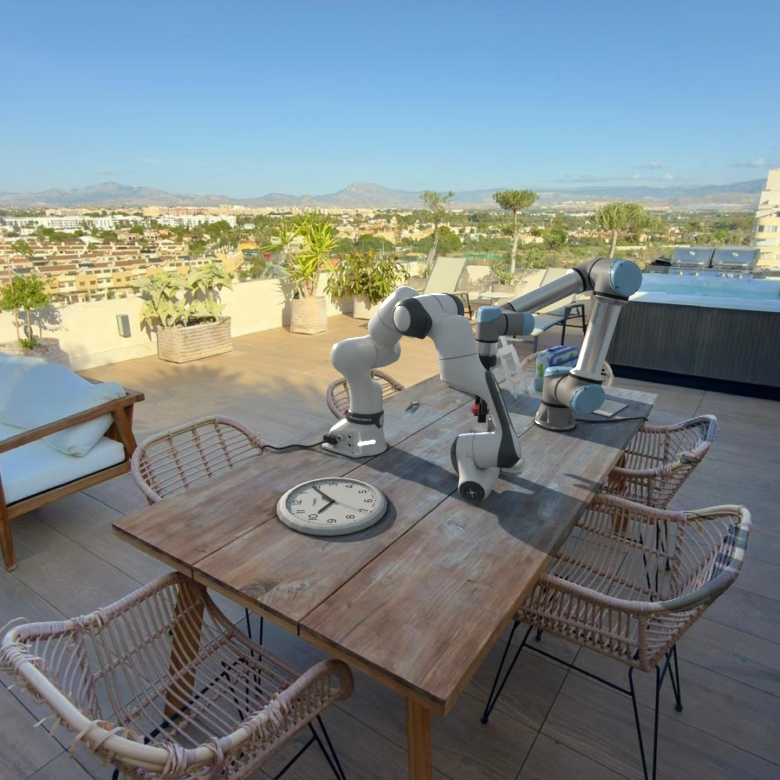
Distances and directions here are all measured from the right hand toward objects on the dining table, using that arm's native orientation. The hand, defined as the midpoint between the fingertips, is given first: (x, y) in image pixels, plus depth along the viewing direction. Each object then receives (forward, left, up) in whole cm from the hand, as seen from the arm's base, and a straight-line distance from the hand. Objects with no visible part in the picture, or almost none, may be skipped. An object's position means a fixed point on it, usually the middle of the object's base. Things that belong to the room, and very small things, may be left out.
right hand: (479, 418), depth 180 cm
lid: (0, 0, +4) cm, 4 cm away
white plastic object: (-3, -64, -10) cm, 64 cm away
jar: (-4, +19, -10) cm, 22 cm away
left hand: (-4, +18, -3) cm, 19 cm away
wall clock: (+41, +47, -10) cm, 64 cm away
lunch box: (-39, -73, -10) cm, 83 cm away
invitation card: (-55, -52, -10) cm, 76 cm away
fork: (+26, -39, -10) cm, 48 cm away
